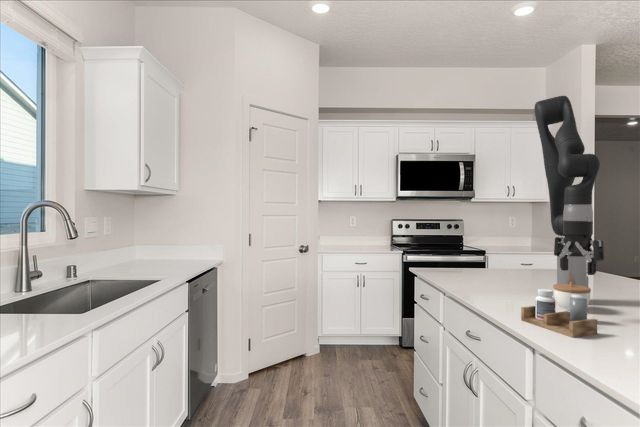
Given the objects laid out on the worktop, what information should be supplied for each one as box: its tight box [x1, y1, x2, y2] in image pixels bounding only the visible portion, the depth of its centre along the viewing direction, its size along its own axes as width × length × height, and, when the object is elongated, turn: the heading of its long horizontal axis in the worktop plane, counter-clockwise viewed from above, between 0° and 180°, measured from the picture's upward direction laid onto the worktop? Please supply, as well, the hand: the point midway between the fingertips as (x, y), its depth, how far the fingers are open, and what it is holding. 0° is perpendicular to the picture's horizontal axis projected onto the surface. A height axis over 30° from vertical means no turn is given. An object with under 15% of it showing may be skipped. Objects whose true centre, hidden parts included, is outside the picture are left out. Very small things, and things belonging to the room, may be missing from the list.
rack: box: [520, 305, 598, 338], centre depth 112 cm, size 9×17×4 cm, turn 18°
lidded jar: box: [552, 282, 592, 312], centre depth 131 cm, size 11×11×9 cm
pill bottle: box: [534, 288, 556, 321], centre depth 116 cm, size 5×5×9 cm
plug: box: [569, 294, 588, 321], centre depth 117 cm, size 4×4×8 cm
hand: (577, 272), depth 117 cm, fingers open, 8 cm apart
